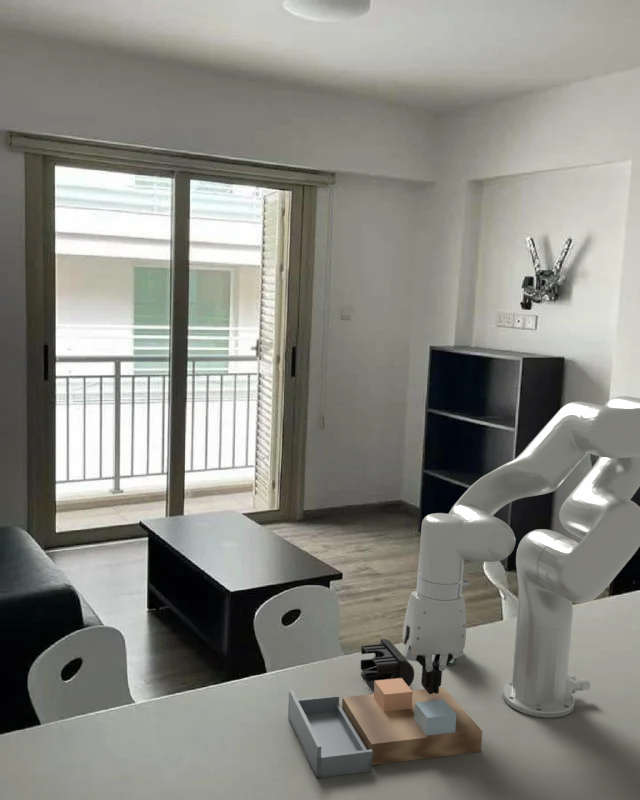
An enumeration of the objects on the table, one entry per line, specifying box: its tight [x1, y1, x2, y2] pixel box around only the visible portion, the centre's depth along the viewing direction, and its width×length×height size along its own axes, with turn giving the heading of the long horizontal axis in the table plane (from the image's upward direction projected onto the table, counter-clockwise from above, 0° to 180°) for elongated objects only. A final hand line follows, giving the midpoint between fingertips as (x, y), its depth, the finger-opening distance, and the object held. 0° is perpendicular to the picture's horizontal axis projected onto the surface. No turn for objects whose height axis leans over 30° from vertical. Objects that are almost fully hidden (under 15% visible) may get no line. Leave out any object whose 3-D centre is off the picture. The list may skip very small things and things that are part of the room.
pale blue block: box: [414, 700, 456, 736], centre depth 132 cm, size 5×5×3 cm
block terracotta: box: [373, 678, 413, 711], centre depth 139 cm, size 5×5×3 cm
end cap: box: [360, 638, 415, 694], centre depth 153 cm, size 10×7×7 cm
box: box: [287, 689, 373, 779], centre depth 132 cm, size 9×18×5 cm, turn 16°
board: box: [341, 686, 483, 766], centre depth 136 cm, size 19×15×4 cm
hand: (430, 689), depth 141 cm, fingers closed
